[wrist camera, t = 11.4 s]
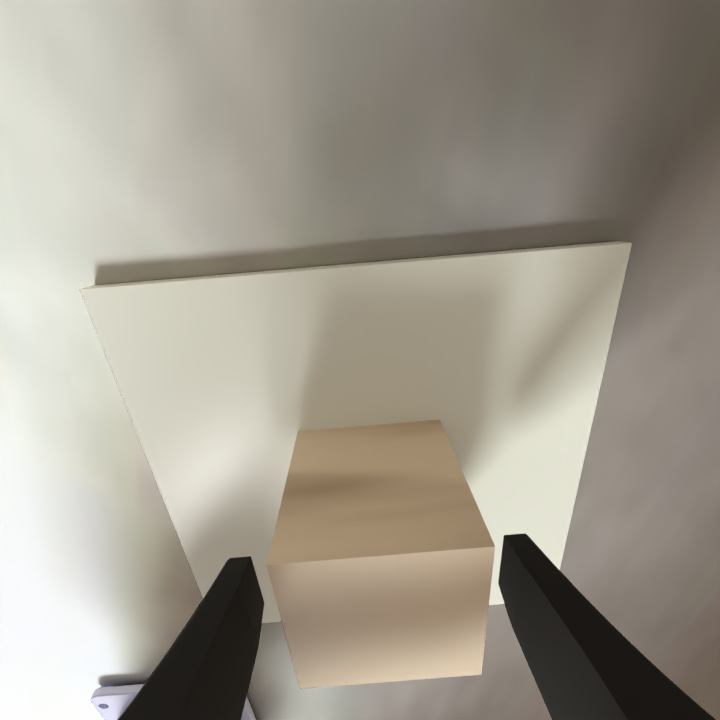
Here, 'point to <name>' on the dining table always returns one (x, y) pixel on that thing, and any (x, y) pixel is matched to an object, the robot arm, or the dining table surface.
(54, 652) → the dining table surface
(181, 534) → the pad
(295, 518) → the cube
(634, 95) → the dining table surface
